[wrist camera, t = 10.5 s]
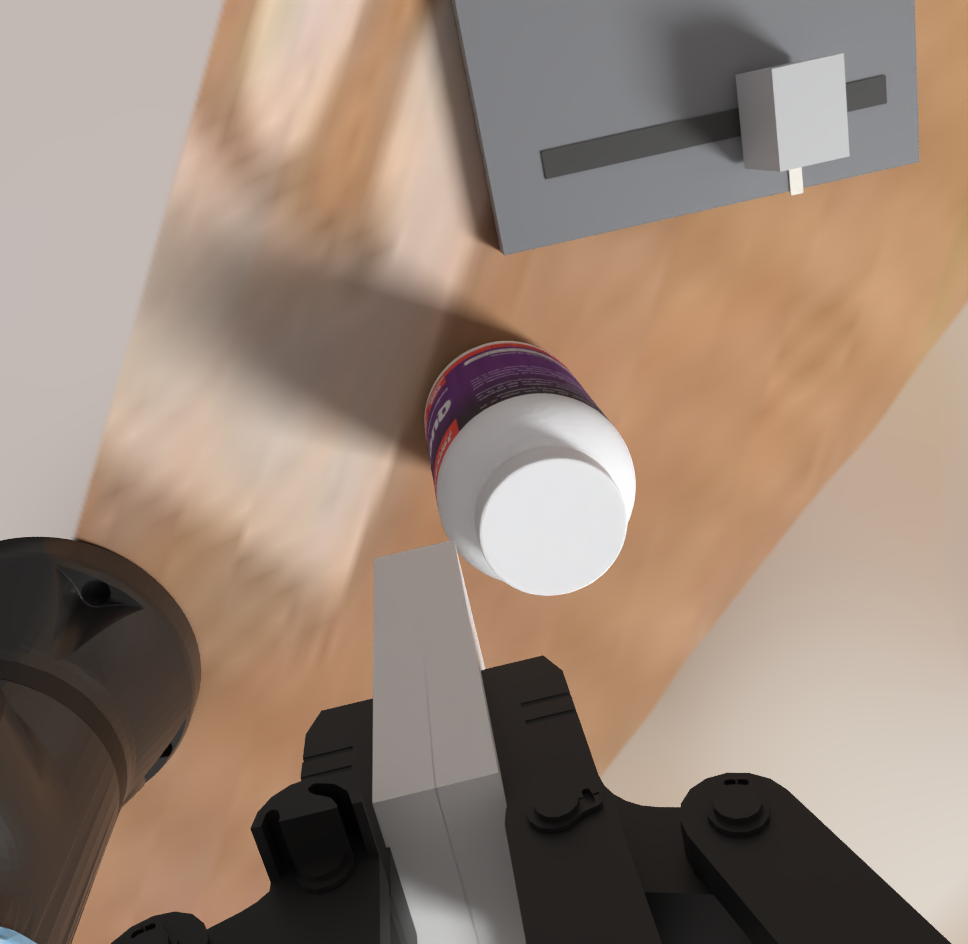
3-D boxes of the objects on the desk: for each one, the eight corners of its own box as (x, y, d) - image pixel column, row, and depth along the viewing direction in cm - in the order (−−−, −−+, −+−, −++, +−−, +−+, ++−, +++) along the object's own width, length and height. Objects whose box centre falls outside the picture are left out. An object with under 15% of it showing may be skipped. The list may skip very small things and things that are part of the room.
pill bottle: (408, 353, 45) (421, 446, 32) (567, 321, 46) (647, 400, 32) (439, 502, 48) (464, 645, 35) (589, 471, 48) (671, 601, 35)
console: (501, 255, 44) (505, 259, 43) (424, -139, 38) (426, -150, 37) (902, 165, 45) (920, 166, 43) (887, -237, 39) (908, -252, 37)
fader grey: (744, 168, 42) (780, 171, 38) (735, 74, 41) (771, 69, 37) (807, 154, 42) (849, 156, 38) (801, 60, 41) (843, 53, 37)
